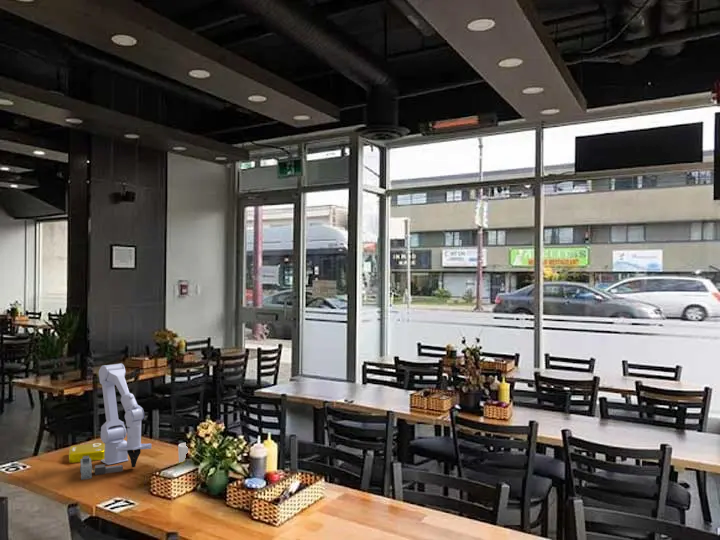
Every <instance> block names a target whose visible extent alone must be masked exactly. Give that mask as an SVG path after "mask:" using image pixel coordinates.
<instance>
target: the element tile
mask: <svg viewBox="0 0 720 540" xmlns="http://www.w3.org/2000/svg"><path fill="white" fill-rule="evenodd" d="M83 456H89V458H91V462H95V461H101V460H104V459H105V443H103V442H97V443H86V444H85V443H84V444H78V445H77V444H75V445H71V446H70V447H69V451H68V463H71V464H75V463H76V464H77V463H81V459H83Z"/></svg>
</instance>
